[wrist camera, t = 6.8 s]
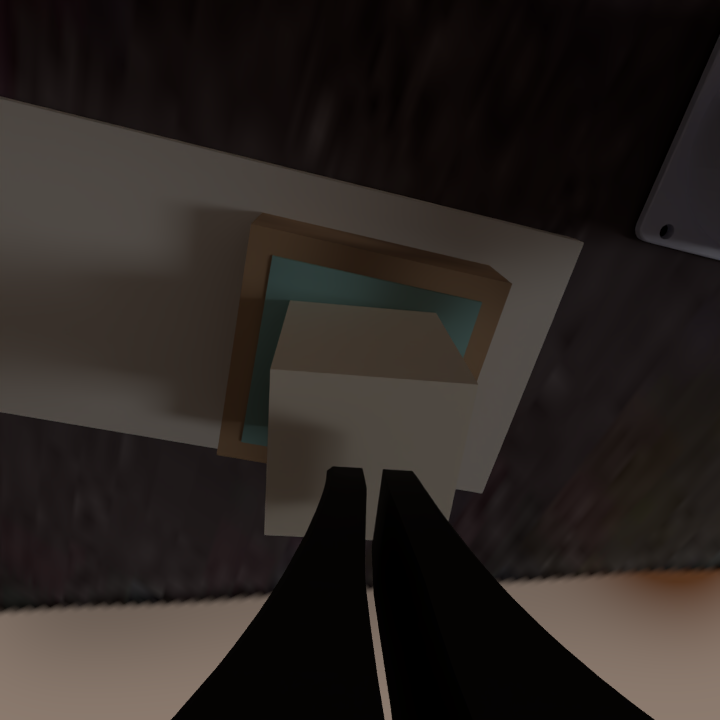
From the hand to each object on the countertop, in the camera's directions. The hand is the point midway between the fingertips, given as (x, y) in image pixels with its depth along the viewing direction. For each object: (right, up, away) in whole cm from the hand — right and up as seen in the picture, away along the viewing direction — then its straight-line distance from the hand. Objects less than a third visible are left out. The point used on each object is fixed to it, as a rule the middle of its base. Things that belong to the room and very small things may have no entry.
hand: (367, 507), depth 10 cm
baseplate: (-3, +5, +9) cm, 10 cm away
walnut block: (0, +4, +8) cm, 9 cm away
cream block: (0, +3, +6) cm, 6 cm away
